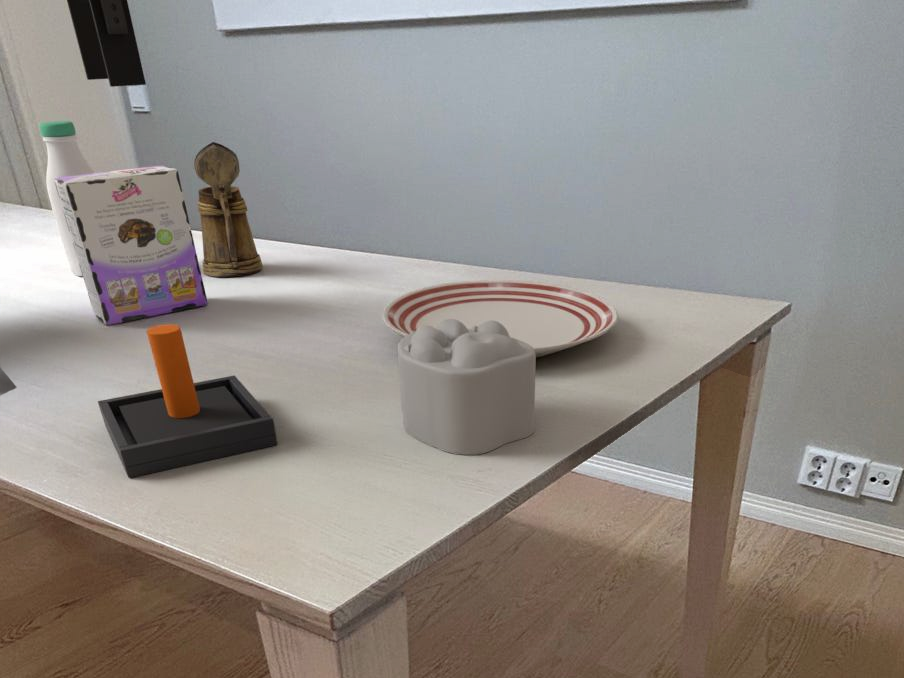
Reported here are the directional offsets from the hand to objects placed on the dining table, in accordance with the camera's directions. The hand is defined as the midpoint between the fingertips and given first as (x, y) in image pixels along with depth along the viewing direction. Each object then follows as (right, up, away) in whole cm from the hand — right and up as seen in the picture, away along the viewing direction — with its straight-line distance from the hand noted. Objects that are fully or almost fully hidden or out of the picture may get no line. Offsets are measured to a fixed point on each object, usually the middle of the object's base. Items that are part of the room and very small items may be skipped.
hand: (115, 82), depth 72 cm
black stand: (+5, -29, +5) cm, 29 cm away
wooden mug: (-6, +7, +54) cm, 55 cm away
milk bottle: (-28, +9, +58) cm, 65 cm away
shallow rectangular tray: (+5, -29, +5) cm, 30 cm away
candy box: (-12, -5, +39) cm, 41 cm away
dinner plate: (+34, -13, +27) cm, 45 cm away
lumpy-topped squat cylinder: (+30, -28, +6) cm, 42 cm away
